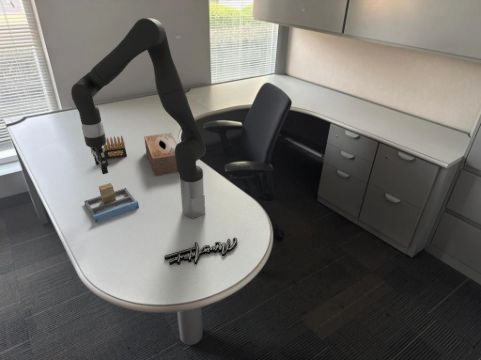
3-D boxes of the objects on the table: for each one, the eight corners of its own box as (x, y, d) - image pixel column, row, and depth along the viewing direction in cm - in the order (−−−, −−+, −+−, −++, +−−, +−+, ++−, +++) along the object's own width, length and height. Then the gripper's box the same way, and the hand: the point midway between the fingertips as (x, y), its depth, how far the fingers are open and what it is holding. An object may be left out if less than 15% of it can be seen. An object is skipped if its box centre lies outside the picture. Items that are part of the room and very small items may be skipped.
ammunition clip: (126, 154, 182) (123, 134, 176) (127, 156, 181) (123, 136, 174) (105, 157, 179) (101, 137, 172) (105, 159, 177) (101, 138, 171)
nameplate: (232, 231, 131) (243, 248, 124) (232, 234, 132) (243, 251, 125) (162, 251, 121) (169, 271, 114) (162, 254, 122) (170, 274, 114)
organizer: (138, 207, 144) (138, 201, 142) (95, 222, 135) (94, 216, 133) (126, 190, 154) (125, 185, 152) (85, 203, 145) (83, 198, 143)
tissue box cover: (183, 171, 170) (182, 154, 164) (154, 176, 165) (152, 158, 160) (172, 148, 190) (171, 132, 184) (146, 152, 185) (144, 136, 180)
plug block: (116, 201, 147) (112, 186, 143) (104, 205, 144) (100, 189, 140) (113, 198, 149) (110, 182, 145) (102, 201, 146) (98, 186, 142)
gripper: (109, 137, 126) (117, 174, 135) (98, 124, 136) (105, 159, 145) (89, 142, 122) (97, 179, 131) (78, 128, 132) (87, 163, 141)
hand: (101, 168), depth 138 cm, fingers open, 8 cm apart
